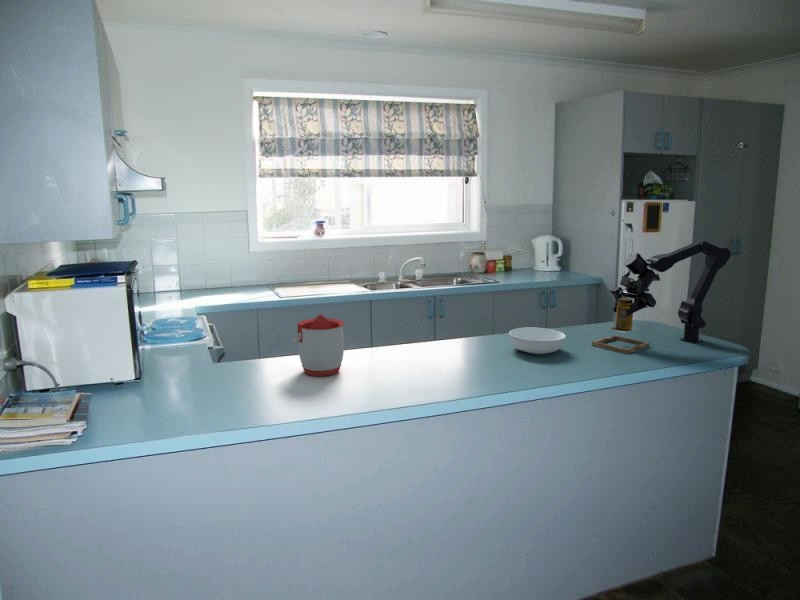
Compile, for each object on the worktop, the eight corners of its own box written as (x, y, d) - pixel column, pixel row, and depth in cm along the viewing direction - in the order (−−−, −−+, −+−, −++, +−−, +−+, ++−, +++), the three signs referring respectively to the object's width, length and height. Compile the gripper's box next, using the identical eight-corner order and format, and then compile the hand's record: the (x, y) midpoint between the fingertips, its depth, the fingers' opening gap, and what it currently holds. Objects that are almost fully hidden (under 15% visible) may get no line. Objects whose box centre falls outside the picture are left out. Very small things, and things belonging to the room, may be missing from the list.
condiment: (636, 329, 237) (638, 299, 235) (625, 333, 232) (628, 302, 229) (618, 326, 243) (620, 296, 240) (607, 329, 237) (609, 299, 234)
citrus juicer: (289, 368, 211) (287, 311, 207) (338, 362, 217) (337, 307, 213) (298, 382, 197) (296, 321, 193) (350, 376, 203) (349, 317, 199)
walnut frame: (614, 338, 249) (615, 335, 249) (649, 346, 238) (649, 342, 237) (591, 345, 239) (591, 341, 239) (626, 353, 228) (626, 350, 228)
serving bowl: (570, 359, 222) (572, 341, 220) (513, 359, 222) (513, 340, 221) (557, 343, 242) (558, 326, 241) (504, 343, 242) (505, 326, 241)
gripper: (614, 266, 242) (592, 296, 240) (653, 272, 226) (630, 304, 223) (627, 283, 248) (605, 313, 245) (666, 291, 231) (643, 323, 229)
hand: (620, 313), depth 235 cm, fingers closed on condiment, 6 cm apart
